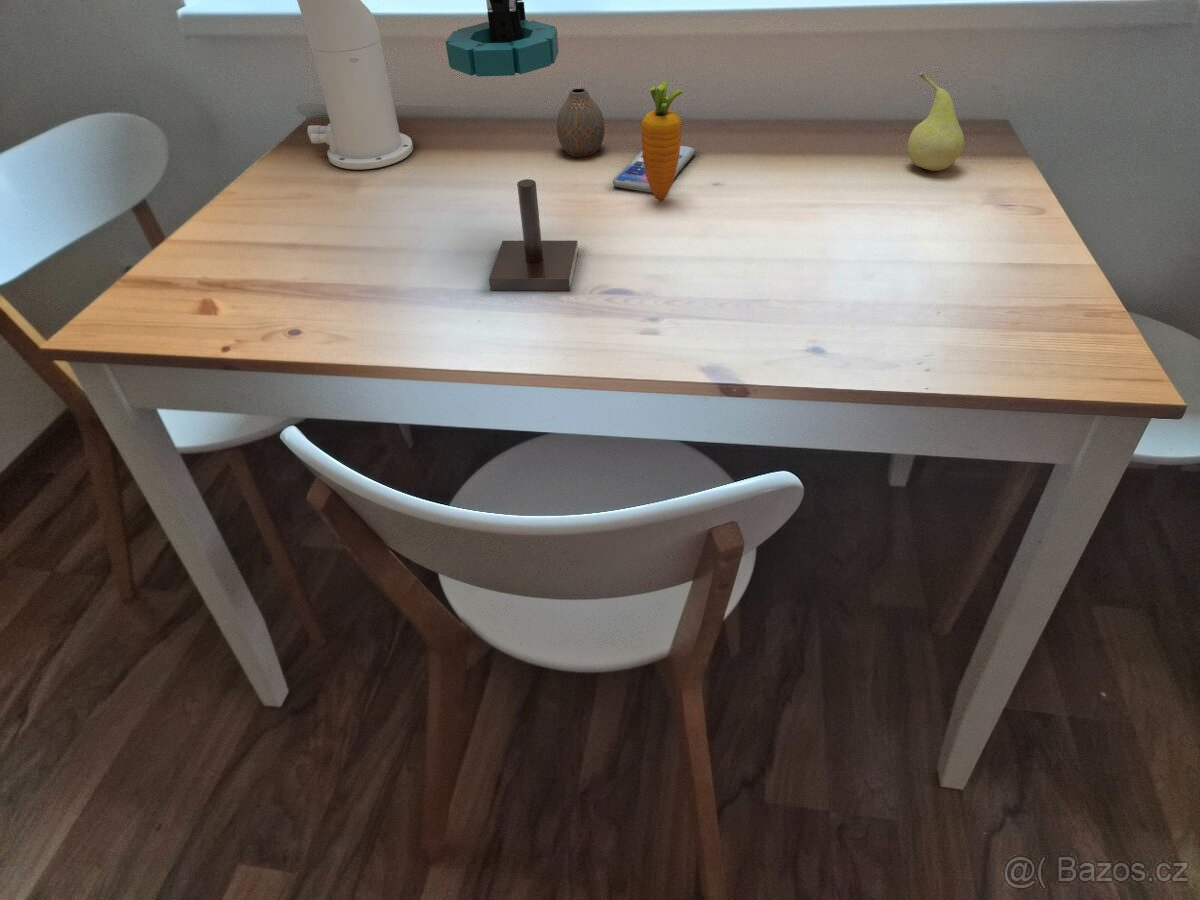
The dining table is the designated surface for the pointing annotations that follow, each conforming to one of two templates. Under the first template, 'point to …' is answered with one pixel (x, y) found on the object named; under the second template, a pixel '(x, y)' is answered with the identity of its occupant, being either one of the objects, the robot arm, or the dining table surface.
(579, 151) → the vase
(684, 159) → the smartphone
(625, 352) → the dining table surface
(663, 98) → the carrot
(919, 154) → the fruit
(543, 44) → the ring
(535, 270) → the stand
